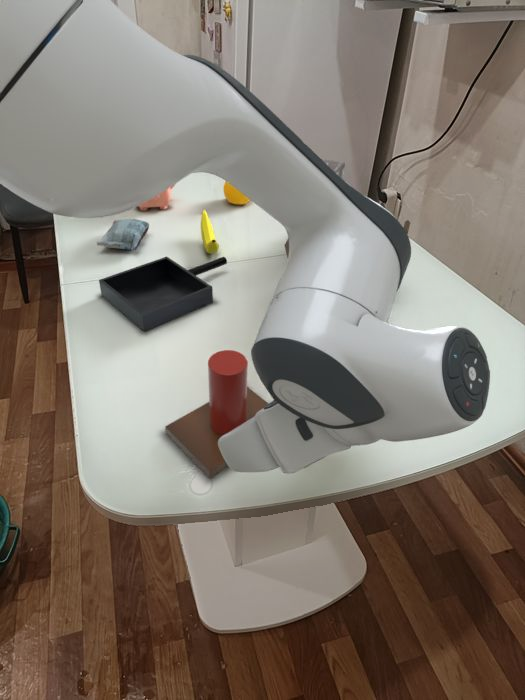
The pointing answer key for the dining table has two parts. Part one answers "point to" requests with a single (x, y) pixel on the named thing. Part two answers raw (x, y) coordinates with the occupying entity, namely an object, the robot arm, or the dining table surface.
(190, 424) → the walnut board
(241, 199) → the yellow rounded piece
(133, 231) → the packaged food
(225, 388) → the red cylinder
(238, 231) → the dining table surface
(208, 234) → the banana
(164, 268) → the steel pan
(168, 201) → the teapot
